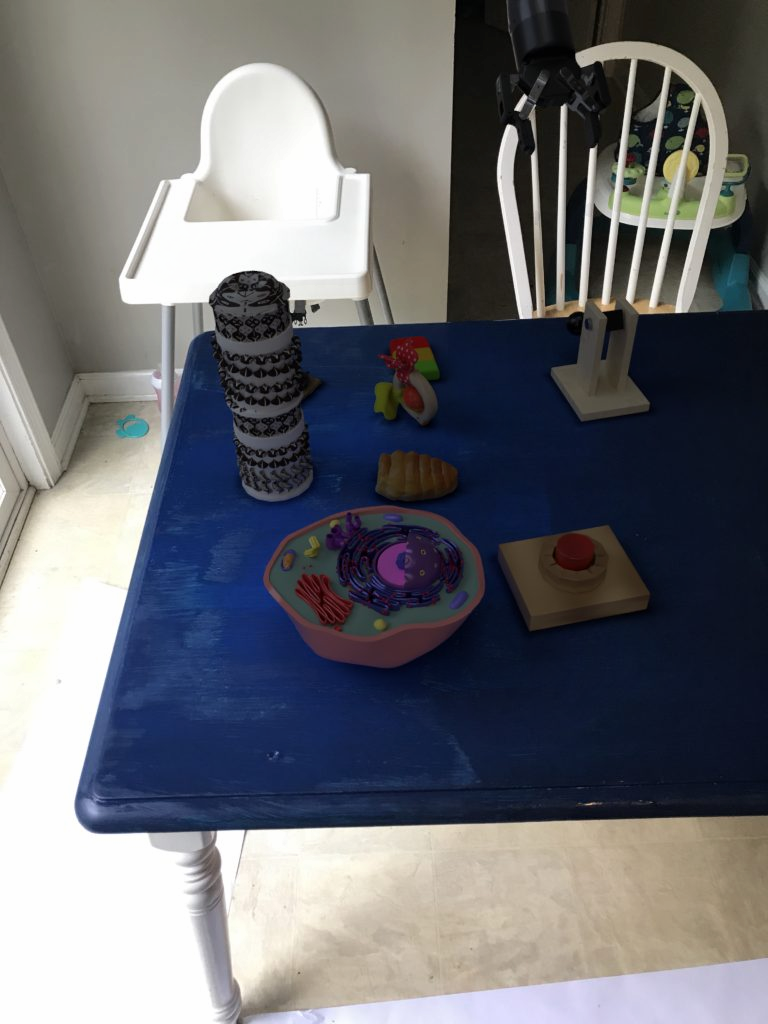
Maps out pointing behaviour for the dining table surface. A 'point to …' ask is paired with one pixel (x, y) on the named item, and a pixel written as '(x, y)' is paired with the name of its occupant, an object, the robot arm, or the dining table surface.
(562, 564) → the button
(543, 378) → the dining table surface
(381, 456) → the pastry
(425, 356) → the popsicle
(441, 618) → the cell model
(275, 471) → the decorative candle
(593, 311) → the bracket
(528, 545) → the button block
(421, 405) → the bird rattle
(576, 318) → the lever
